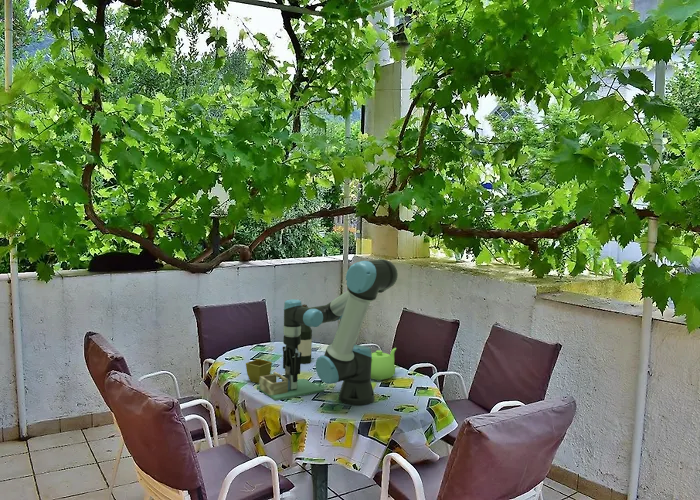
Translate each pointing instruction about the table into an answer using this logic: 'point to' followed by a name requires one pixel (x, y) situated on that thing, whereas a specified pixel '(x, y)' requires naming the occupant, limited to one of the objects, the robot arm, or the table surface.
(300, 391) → the board
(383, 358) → the teapot
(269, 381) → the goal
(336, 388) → the table surface
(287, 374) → the block
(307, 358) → the wine bottle
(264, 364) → the flower pot
